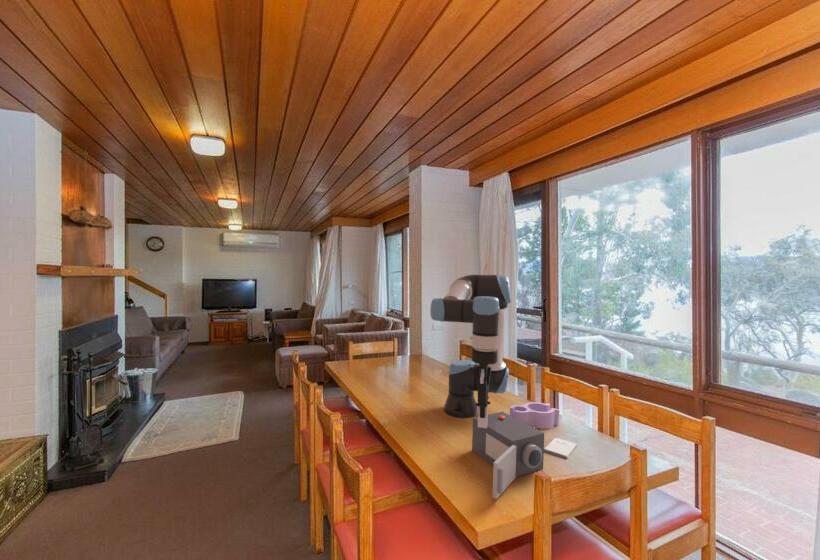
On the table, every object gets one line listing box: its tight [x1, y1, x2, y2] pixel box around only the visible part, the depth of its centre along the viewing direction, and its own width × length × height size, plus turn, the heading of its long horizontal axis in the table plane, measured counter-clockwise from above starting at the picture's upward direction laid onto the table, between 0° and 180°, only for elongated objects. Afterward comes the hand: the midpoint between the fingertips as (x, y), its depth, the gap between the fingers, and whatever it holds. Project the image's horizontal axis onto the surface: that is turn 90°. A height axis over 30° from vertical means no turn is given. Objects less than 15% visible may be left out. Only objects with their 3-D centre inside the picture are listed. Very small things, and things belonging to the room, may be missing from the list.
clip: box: [509, 401, 560, 430], centre depth 157 cm, size 20×12×7 cm, turn 102°
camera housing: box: [471, 411, 545, 479], centre depth 125 cm, size 23×14×13 cm, turn 28°
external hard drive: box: [544, 437, 578, 460], centre depth 135 cm, size 2×8×12 cm
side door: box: [492, 445, 516, 500], centre depth 107 cm, size 14×2×10 cm, turn 142°
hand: (482, 426), depth 109 cm, fingers closed
